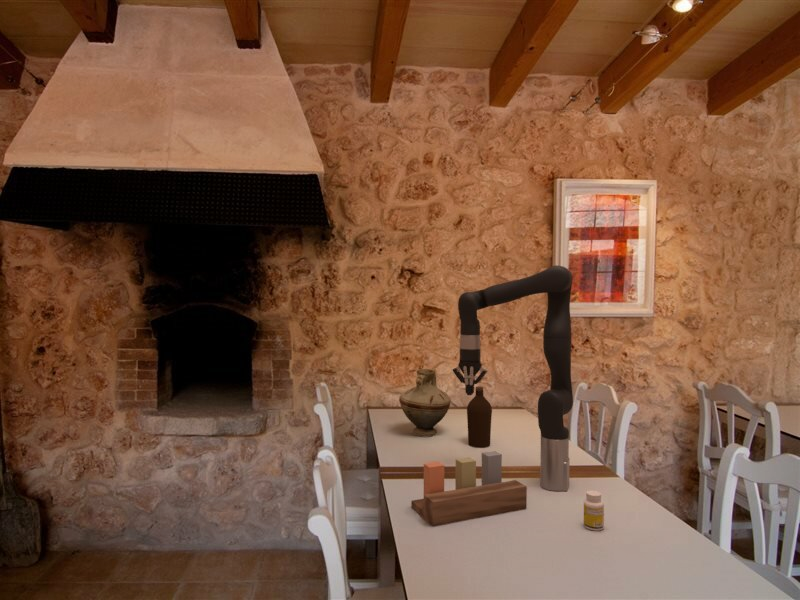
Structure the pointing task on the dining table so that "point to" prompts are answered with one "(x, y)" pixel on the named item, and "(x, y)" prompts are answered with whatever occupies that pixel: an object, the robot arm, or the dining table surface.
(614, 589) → the dining table surface
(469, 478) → the khaki rectangular block
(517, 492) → the console
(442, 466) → the terracotta key
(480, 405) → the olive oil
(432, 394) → the amphora
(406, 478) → the dining table surface
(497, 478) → the slate key
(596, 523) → the supplement bottle
